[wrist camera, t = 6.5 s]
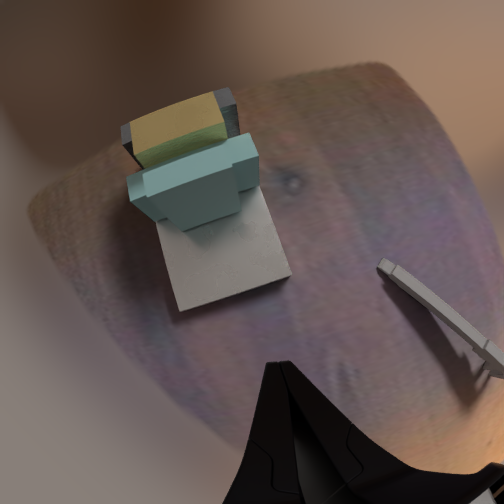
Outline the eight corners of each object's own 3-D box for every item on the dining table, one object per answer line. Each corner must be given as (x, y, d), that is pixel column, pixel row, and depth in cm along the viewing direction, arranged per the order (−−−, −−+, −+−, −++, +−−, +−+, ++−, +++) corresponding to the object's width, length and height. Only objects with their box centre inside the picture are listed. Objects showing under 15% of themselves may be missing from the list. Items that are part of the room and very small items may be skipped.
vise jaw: (266, 202, 22) (267, 156, 14) (158, 239, 21) (116, 210, 14) (251, 164, 22) (247, 109, 15) (149, 200, 22) (110, 160, 15)
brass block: (234, 171, 23) (224, 121, 16) (167, 195, 22) (133, 154, 15) (224, 144, 23) (212, 91, 16) (160, 167, 23) (129, 122, 16)
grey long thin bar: (492, 367, 20) (529, 373, 13) (488, 375, 19) (525, 383, 13) (381, 258, 23) (416, 242, 16) (375, 268, 22) (409, 254, 16)
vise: (290, 276, 22) (301, 264, 16) (184, 311, 22) (156, 312, 16) (234, 128, 25) (226, 83, 19) (147, 159, 25) (120, 122, 18)
